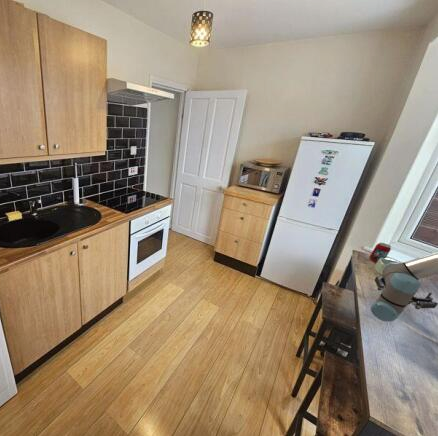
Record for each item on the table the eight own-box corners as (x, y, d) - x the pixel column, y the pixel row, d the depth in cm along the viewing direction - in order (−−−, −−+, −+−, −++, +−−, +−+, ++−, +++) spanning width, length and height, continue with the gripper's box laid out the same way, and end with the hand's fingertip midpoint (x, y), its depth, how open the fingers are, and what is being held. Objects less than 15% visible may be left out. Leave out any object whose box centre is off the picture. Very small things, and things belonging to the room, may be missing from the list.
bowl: (410, 278, 133) (417, 269, 130) (403, 285, 126) (409, 276, 123) (378, 264, 144) (383, 255, 141) (369, 270, 137) (375, 261, 134)
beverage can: (371, 262, 146) (381, 246, 141) (366, 256, 152) (375, 241, 147) (384, 264, 144) (394, 248, 139) (378, 259, 150) (388, 243, 145)
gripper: (355, 289, 110) (371, 276, 120) (431, 328, 91) (442, 309, 101) (363, 276, 106) (378, 264, 117) (443, 315, 88) (453, 297, 98)
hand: (408, 285), depth 109 cm, fingers open, 13 cm apart
